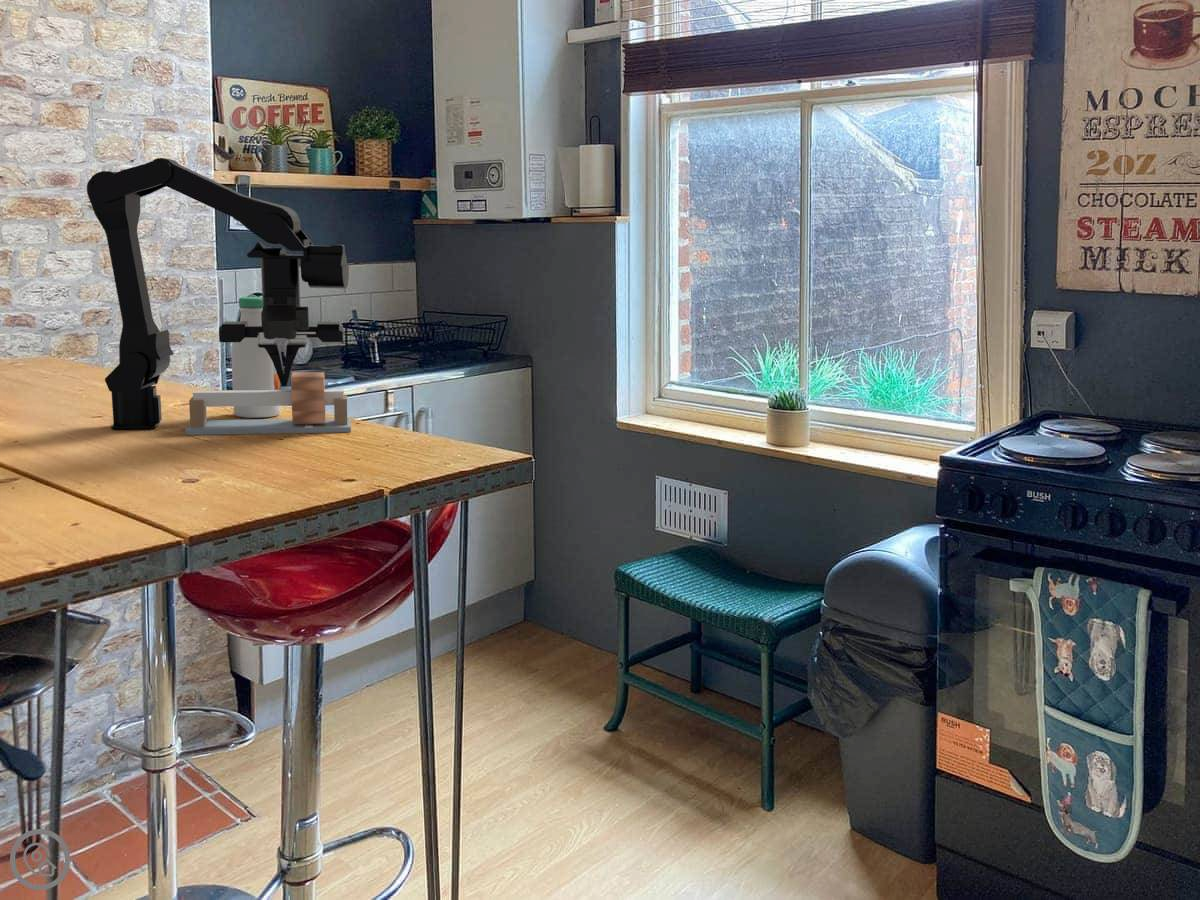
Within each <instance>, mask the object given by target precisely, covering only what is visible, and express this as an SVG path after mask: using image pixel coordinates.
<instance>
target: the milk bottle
mask: <svg viewBox="0 0 1200 900" xmlns="http://www.w3.org/2000/svg"><path fill="white" fill-rule="evenodd" d="M238 307H239V309H238V310H239V311H240V319H239V321H247V323H248V326H262V322H261V313H262V309H263V302H262V296H243V297H242V296H241V297H239V298H238ZM258 344H259V340H258V338H244V339H243V340H242V341H241V342H231V378H232V379H231V381H232V382H231V383H232V390H281V383H280V380H279V377H278V375H277V372H276V369H275V367H274V364H273V362H272V360H271V358H270V356H269V354H268V352H267V351H266V349H265V348H259V347H258ZM232 407H233V413H234V416H236V417H240V418H247V419H248V418H249V419H252V418H253V419H255V418H256V419H257V418H258V419H260V418H261V419H262V418H263V419H264V418H271V417H275V416H276V417H277V416H279V415H280V413H281V410H282V409H281V407H282V406H232Z"/></svg>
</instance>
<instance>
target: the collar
mask: <svg viewBox="0 0 1200 900" xmlns="http://www.w3.org/2000/svg"><path fill="white" fill-rule="evenodd" d="M325 377H326V376H325V371H292V374H291V377H290V383H291V384H290V387H291V388H290V390H291V392H292V406H291V414H292V415H291V419H292V424H314V423H325V419H326V418H327V417H326V405H325V401H324V390H326V386H325V385H326V383H325Z"/></svg>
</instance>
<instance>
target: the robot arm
mask: <svg viewBox="0 0 1200 900" xmlns="http://www.w3.org/2000/svg"><path fill="white" fill-rule="evenodd" d="M166 187H167V188H169V189H171V190H174V191H176V192H177V193H180V194H182V195H184V196H186V197H189V198H190V199H193V200H195V201H197V202H199V203H201V204H204V205H206V206H208V207H210V208H212V209H214V210H216V211H219V212H220V213H222V214H225V215H227V216H230V217H231V218H233V219H234V220H236V221H238V223H240V224H241V225H242V226H244V227H245V228H246V229H247V230H249V231H250V232H251V233H253V234H255V235H256V236H257V237H259V238H260V239H262V240H263V241H265V242H266V243H268V244H272V245H278V244H280V245H281V246H283V247H276V246H275V247H274V246H273V247H269V246H268V247H267V246H266V245H264V243H263V242H259V241H258V242H256V243H255V246H254V247H253V248H252V249H251V250H250V251H248V252H247V254H246V257H247V258H250V259H260V269H261V270H260V271H261V295H262V296H261V297H262V302H263V309H262V313H261V322H262V326H248V323H247V321H240V320H239V321H235V320H233V321H232V320H231V321H224V322H223V323H222V324H221V325H220V326H219V327H218V341H219V343H232V342H241V341H242V340H243V339H244V338H258V340H259V344H258V347H259V348H265V349H266V351H267V352H268V354H269V356H270V358H271V360H272V362H273V364H274V367H275V369H276V372H277V375H278V377H279V380H280V387H287V386H288V382H289V379H290V375H291V371H292V368H293V364H294V361H295V359H296V356H297V354H298V352H299V349H300V348H301V349H302V348H307V345H308V338H317V339H319V340H320V341H321V342H322V343H342V342H344V328H343V327H344V326H343V325H344V324H342V323H341V322H340V321H317V323H316V325H310V316H309V314H310V313H309V306H301V294H300V293H301V290H300V279H301V281H302V282H303V283H307V285H308V287H309V288H310V289H348V285H349V280H350V279H349V277H350V270H349V269H350V268H349V267H350V266H349V264H348V261H347V260H348V258H347V255H346V247H345V244H333V245H314V244H313V242H312V241H311V239H310V238H309V237H308V236H307V235H306V233H305V231H303V230H302V229H303V228H302V227H301V220H300V218H299V215H298V213H297V212H296V211H295V210H293V209H292V208H291V207H288V206H285V205H281V204H278V203H274V202H271V201H266V200H263V199H260V198H256V197H255V198H254V197H251V196H247V195H246V194H243V193H240V192H239V191H237V190H234V189H232V188H230V187H228V186H226V185H223V184H221V183H220V182H217V181H216V180H213V179H211V178H209V177H207V176H204V175H202V174H200V173H198V172H196V171H194V170H192V169H190V168H187V167H186V166H184V165H181V164H180V163H178V161H177V160H174V159H171V158H164V157H158V158H155V159H153V160H151V161H149V162H146V163H143V164H139V165H136V166H133V167H129V168H125V169H122V170H120V171H107V170H101V171H99V172H98V171H97V172H96V173H95V174H93V175H92V176H91V177H90V179H89V180H88V181H87V184H86V192H87V197H88V199H89V202H90V206H91V207H92V211H93V213H94V215H95V217H96V218H97V220H98V222H99V223H100V225H101V228H102V229H103V231H104V232H105V236H106V241H107V247H108V251H109V256H110V257H109V258H110V261H111V262H110V263H111V268H112V273H113V279H114V284H115V289H116V294H117V295H116V296H117V300H118V305H119V311H120V315H121V321H122V327H121V333H120V339H119V343H118V346H119V347H118V350H119V351H118V352H119V353H118V359H119V361H118V362H119V364H118V365H116V367H115V368H114V369H113V370H112V371H110V373H109V374H108V375H107V376H106V377H105V378H104V382H105V383H106V386H107V389H108V391H109V392H111V403H112V404H111V405H112V406H111V407H112V419H113V420H112V422H113V423H112V424H111V425H110V428H111V429H112V430H130V429H131V430H134V429H135V430H137V429H138V430H139V429H140V430H142V429H143V430H144V429H146V430H147V429H155V428H156V427H157V426H159V424H160V423H161V422H162V419H163V417H162V416H163V414H162V401H161V395H160V394H159V395H158V394H157V393H158V392H157V384H158V383H159V380H160V377H161V375H162V374H163V373H165V372H166V370H167V369H168V368H169V366H170V364H171V356H174V351H173V350H172V347H171V344H170V331H169V330H168V329H164V330H161V331H160V329H159V328H158V326H157V324H156V323H155V321H154V317H153V313H152V306H151V301H150V296H149V291H148V285H147V284H148V283H147V278H146V272H145V268H144V262H143V257H142V252H141V251H142V250H141V247H140V241H139V235H138V227H139V226H138V225H139V219H140V215H141V198H143V197H146V196H148V195H152V194H153V193H156V192H158V191H160V190H161V189H164V188H166ZM286 249H287V250H289V251H291V252H302V253H303V254H291V253H289V254H287V251H286ZM299 260H300V261H299ZM300 277H301V278H300ZM279 339H286V340H288V341H287V343H286V346H285V347H286V349H285V359H284V363H283V358H282V351H281V345H280V340H279ZM283 365H284V366H283ZM111 429H110V430H111Z"/></svg>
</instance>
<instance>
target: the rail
mask: <svg viewBox="0 0 1200 900" xmlns="http://www.w3.org/2000/svg"><path fill="white" fill-rule="evenodd" d="M324 401H325V406H333V407H334V410H333V411H334V412H333V413H334V415H333V416H334V417H332V418H325V423H314V424H292V418H287V419H286V418H285V419H284V418H279V419H278V418H275V419H273V418H271V419H270V418H269V419H264V418H263V419H208V418H207V407H209V408H211V407H212V408H214V407H233V406H281V407H285V406H286V407H289V406H291V407H292V392H291V389H280V390H233V389H232V390H231V389H229V390H194V391H192V397H191V398H190V399H189V400H188V402H189V404H188V405H189V407H188V408H189V424H188V425H187V427H186V428H185V431H184V432H185V435H186V436H187V435H188V436H191V435H192V436H195V435H201V436H202V435H203V436H204V435H205V436H206V435H246V434H247V435H250V434H251V435H253V434H254V435H256V434H262V435H263V434H309V433H311V434H312V433H313V434H314V433H315V434H319V433H323V434H324V433H351V430H352V429H351V427H352V426H351V425H352V424H351V418H350V417H348V395H346V394H345V395H344V389H325V390H324ZM207 419H208V420H207Z"/></svg>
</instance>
